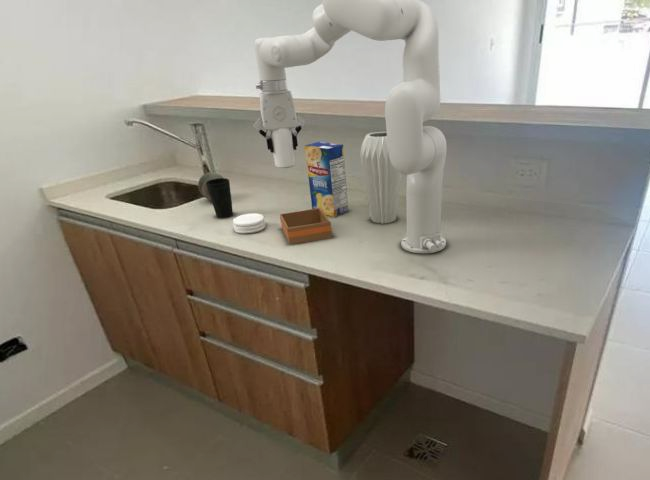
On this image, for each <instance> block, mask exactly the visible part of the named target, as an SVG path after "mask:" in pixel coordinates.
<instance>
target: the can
mask: <svg viewBox="0 0 650 480" xmlns="http://www.w3.org/2000/svg"><path fill="white" fill-rule="evenodd" d="M270 137H271V139H272V144H273V150H274V152H273V153H272V155H273V162H274V166H275V167H276V168H277V169H288V168H293V167H294V166H296V156H295V150H294V147H293V140H292V132H291V129H290V128H279V129H276V130H272V131H271V135H270Z"/></svg>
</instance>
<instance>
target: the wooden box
mask: <svg viewBox="0 0 650 480" xmlns="http://www.w3.org/2000/svg"><path fill="white" fill-rule="evenodd" d="M279 221H280V225H281V229H282V232H283V234H284V236H285V238H286V241H287V242H288V244H289V245H295V244H302V243H308V242H314V241H320V240H327V239H331V238H333V233H332V232H333V231H332V222H331V221H330V219H329V218H328V215H326V214H324V213H323V211H322V210H321V209H320V208H316V209H312V208H311V209H304V210H297V211H290V212H284V213H279Z"/></svg>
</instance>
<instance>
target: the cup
mask: <svg viewBox="0 0 650 480" xmlns="http://www.w3.org/2000/svg"><path fill="white" fill-rule="evenodd" d="M230 184H231V183H230V179H229V178H225V177H223V178H218V179H212V180H209V181H207V182H206V185H207V188H208V192H209V195H210V198H211V200H210V201H211V203H212V206H213V210H214V213H215V216H216V218H217V219H228V218H231V217H233V216H234V209H233V201H232V193H231V186H230Z"/></svg>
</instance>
